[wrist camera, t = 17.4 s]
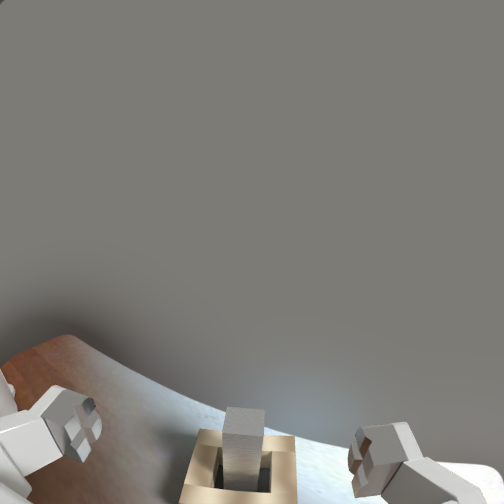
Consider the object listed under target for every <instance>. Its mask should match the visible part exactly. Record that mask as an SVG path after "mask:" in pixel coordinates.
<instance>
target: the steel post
mask: <svg viewBox="0 0 504 504" xmlns="http://www.w3.org/2000/svg"><path fill="white" fill-rule="evenodd" d="M264 419H265V410H260V409H246V408H235V407H227V411H226V416H225V421H224V426H223V431H222V449H223V479H224V490H233V491H244V492H257V485H258V478H259V470H260V462H261V454H262V446H263V437H264Z"/></svg>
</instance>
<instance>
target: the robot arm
mask: <svg viewBox="0 0 504 504" xmlns="http://www.w3.org/2000/svg"><path fill="white" fill-rule="evenodd" d="M3 1H4V0H0V4H1V3H2V2H3ZM14 397H15V389H14V387H13V386H12V385H11V384H7V382H6V380H5V378H4V376H3V374H2V372H1V370H0V504H33V503H31V502H30V501H28V500H27V499H26V498H27V497H28V495H29V494H30V492H31V491H32V488H31V485H30V484H29V483H28V482H27V481H26V479H25V478H24V477H25V476H27V475H29V474H31V473H32V472H34V471H36V470H38V469H40V468H42V467H44V466H46V465H47V464H49V463H51V462H53V461H55V460H56V459H58V458H60V457H62V456H63V455H64V456H67V457H69V458H72V459H74V460H77V461H80V462H82V463H83V462H84V461H85V459H86V457H87V456H88V454H89V452H90V451H91V446H90V444H91V443H93V442H95V441H97V439H98V438H99V436H100V433H101V429H102V424H101V419H100V416H99V415H98V414H97V413H96V412H95V411H94V409H95V407H96V405H95V402H94V399H92V398H90V397H88V396H85V395H82V394H79V393H76V392H73V391H71V390H68V389H65V388H62V387H60V386H57V385H54V386H52V387H51V388H50V389H49V390H48V391H47V392H46V393H45V394H44V395H43V396H42V397H41V398H40V399H39V400H38V401H37V402H36V404H35V405H34V406H33V407H32V408H31V409H30V410H29V411H27V410H23V411H20V412H18V409H17V405H16V402H15V399H14ZM355 437H356V441H355V442H354V443H352V444H351V446H350V449H349V453H348V467H349V471H350V472H351V473H352V474H354V475H355V476H354V478H353V480H352V487H353V492H354V497H355V498H359V497H368V496H375V495H381V497H382V498H383V499H384V500H385V501H386V502H387V503H388V504H487V502H486V500H485V498H484V496H483V494H482V492H481V490H480V488H478V487H476V486H475V485H473V484H471V483H469V482H468V481H466V480H464V479H463V478H461V477H459V476H458V475H456V474H454V473H453V472H451V471H449V470H448V469H446V468H444V467H443V466H441V465H440V464H438V463H436V462H435V461H433V460H431V459H430V458H428V457H425V458H423V456H422V454H421V451H420V449H419V447H418V445H417V442H416V441H415V438H414V436H413V434H412V432H411V430H410V427H409V425H408V424H407V423H406V422H399V423H392V424H382V425H374V426H364V427H359V428H358V429H357V432H356V434H355Z"/></svg>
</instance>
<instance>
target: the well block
mask: <svg viewBox="0 0 504 504" xmlns="http://www.w3.org/2000/svg"><path fill="white" fill-rule="evenodd" d="M219 465H223V449H222V431H214V430H207V429H199V433H198V436H197V440H196V443H195V447H194V450H193V454H192V457H191V461H190V464H189V468H188V471H187V475H186V478H185V482H184V485H183V489H182V492H181V496H180V499H179V504H298V501H297V476H296V455H295V436H275V435H264V437H263V446H262V454H261V462H260V468H263V469H269V490H268V493H259V492H244V491H233V490H224V489H216V488H215V482H216V477H217V472H218V467H219Z"/></svg>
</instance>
